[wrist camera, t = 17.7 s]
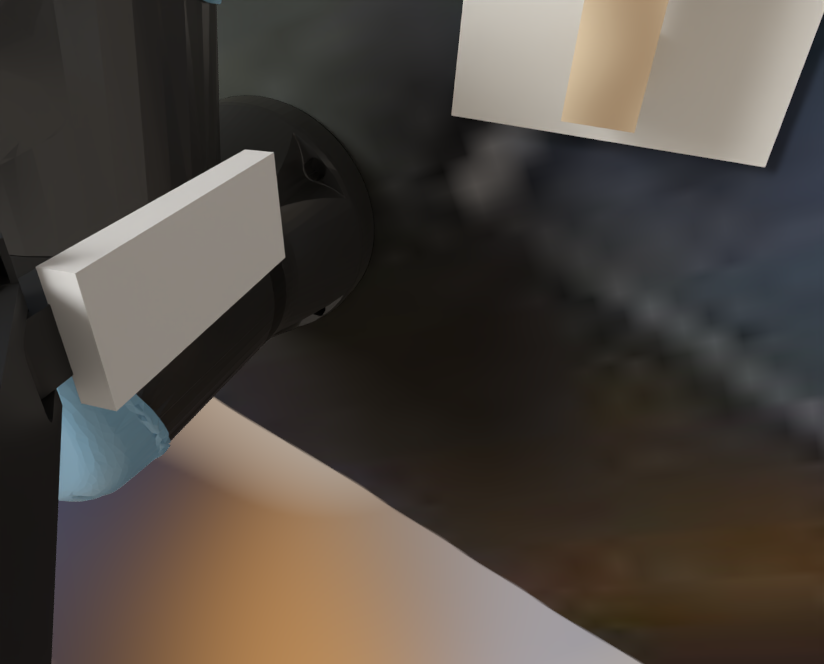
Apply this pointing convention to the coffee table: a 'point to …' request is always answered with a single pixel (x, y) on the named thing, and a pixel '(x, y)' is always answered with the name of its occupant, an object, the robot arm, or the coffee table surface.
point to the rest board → (668, 81)
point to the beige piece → (612, 62)
